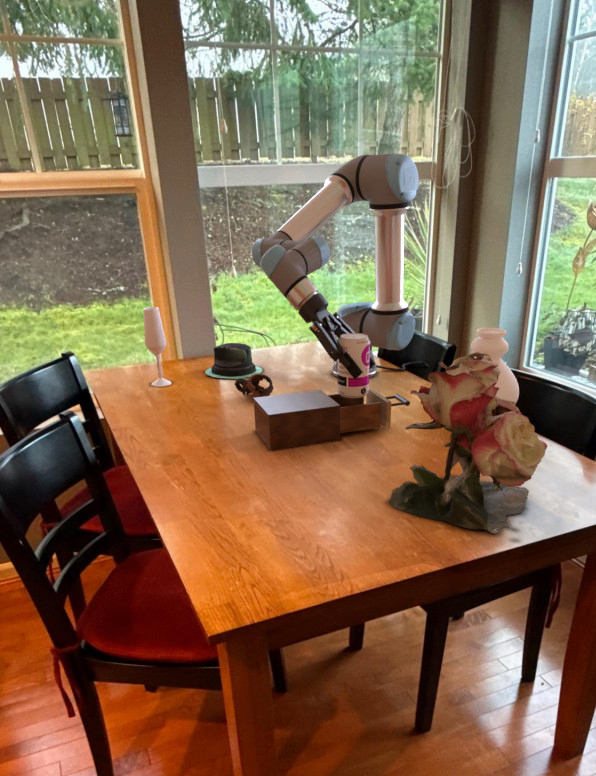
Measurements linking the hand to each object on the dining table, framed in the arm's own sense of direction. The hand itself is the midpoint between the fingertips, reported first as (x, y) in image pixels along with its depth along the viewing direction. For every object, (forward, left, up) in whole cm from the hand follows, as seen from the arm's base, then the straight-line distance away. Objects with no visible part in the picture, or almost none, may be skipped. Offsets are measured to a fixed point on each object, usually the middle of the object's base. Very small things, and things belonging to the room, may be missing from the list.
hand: (365, 371), depth 161 cm
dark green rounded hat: (+19, -70, -16) cm, 75 cm away
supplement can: (+2, -2, -7) cm, 7 cm away
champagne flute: (+45, -65, -16) cm, 81 cm away
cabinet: (+18, -2, -16) cm, 24 cm away
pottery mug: (+20, -38, -16) cm, 46 cm away
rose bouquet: (-4, +47, -16) cm, 49 cm away
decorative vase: (-31, +9, -16) cm, 36 cm away
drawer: (0, -2, -15) cm, 15 cm away
